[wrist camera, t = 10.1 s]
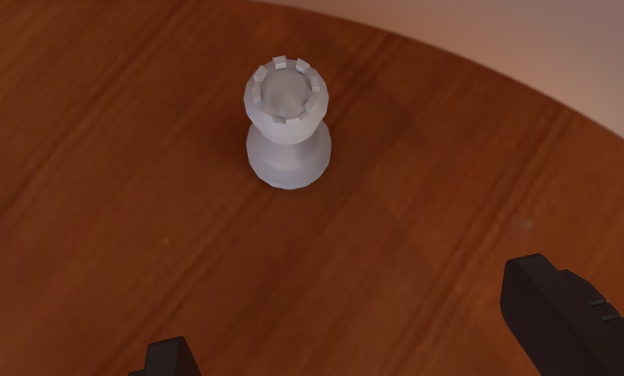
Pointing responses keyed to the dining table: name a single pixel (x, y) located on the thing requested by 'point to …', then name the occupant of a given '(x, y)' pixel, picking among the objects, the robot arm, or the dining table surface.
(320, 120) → the rook chess piece
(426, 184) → the dining table surface
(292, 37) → the dining table surface
